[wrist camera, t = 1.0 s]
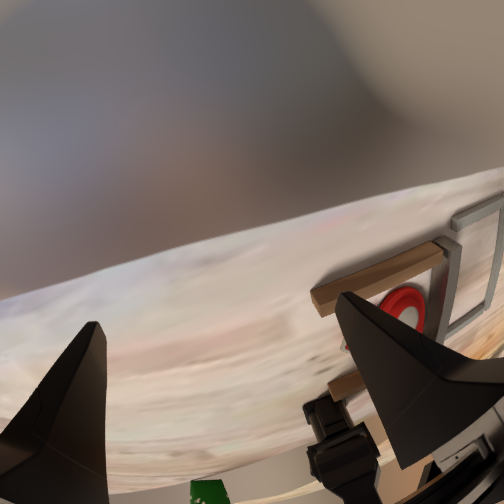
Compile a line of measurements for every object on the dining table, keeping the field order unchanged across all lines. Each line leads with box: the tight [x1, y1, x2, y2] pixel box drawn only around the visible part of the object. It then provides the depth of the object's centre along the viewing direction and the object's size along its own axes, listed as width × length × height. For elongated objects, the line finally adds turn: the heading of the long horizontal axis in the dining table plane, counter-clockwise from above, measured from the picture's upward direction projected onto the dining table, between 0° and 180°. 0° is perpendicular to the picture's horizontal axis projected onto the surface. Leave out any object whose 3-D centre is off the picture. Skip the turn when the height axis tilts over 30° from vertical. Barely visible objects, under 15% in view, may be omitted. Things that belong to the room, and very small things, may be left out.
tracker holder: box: [340, 287, 425, 354], centre depth 29 cm, size 12×4×10 cm
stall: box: [310, 241, 443, 402], centre depth 29 cm, size 18×15×2 cm
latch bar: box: [423, 235, 462, 345], centre depth 29 cm, size 18×2×3 cm, turn 17°
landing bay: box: [444, 193, 504, 341], centre depth 30 cm, size 22×14×1 cm, turn 17°
